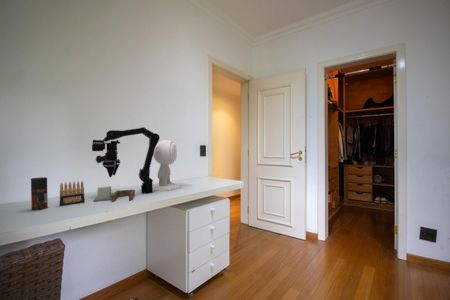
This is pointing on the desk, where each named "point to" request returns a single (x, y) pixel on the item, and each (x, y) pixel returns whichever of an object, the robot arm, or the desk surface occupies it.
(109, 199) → the mat
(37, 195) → the black red box
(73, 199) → the ammunition clip
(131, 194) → the frame
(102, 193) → the block
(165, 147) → the big headed doll
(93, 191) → the desk surface
